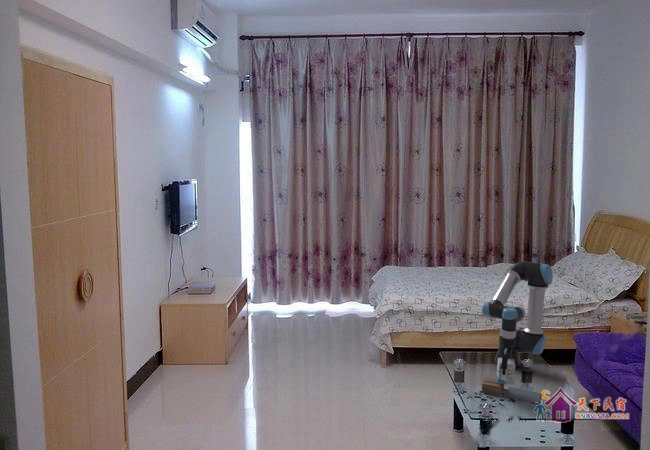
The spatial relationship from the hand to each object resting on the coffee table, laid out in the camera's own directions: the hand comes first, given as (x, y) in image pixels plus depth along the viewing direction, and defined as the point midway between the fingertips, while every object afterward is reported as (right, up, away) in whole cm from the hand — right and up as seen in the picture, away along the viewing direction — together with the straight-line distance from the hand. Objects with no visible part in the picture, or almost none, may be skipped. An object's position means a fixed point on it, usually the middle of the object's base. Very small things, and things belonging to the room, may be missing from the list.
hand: (505, 376), depth 313 cm
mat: (+9, -10, -1) cm, 14 cm away
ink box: (0, -3, 0) cm, 3 cm away
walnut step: (-6, -9, +4) cm, 11 cm away
